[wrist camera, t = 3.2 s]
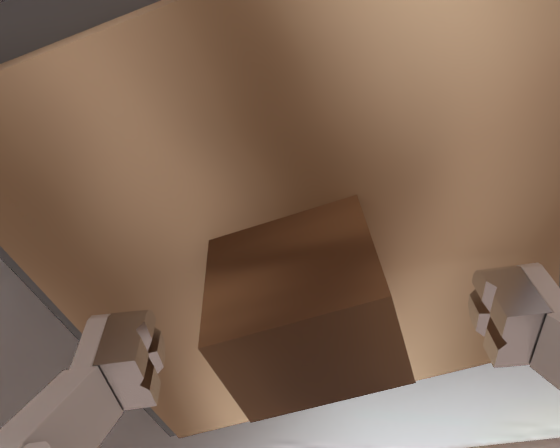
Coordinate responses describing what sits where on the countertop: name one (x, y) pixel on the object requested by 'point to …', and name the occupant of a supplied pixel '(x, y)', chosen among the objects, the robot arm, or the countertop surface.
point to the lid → (286, 187)
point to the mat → (39, 33)
